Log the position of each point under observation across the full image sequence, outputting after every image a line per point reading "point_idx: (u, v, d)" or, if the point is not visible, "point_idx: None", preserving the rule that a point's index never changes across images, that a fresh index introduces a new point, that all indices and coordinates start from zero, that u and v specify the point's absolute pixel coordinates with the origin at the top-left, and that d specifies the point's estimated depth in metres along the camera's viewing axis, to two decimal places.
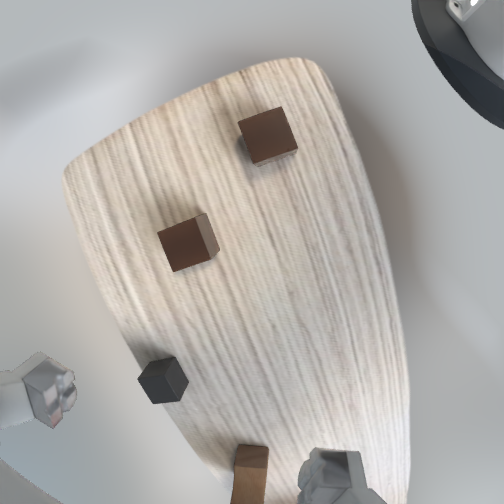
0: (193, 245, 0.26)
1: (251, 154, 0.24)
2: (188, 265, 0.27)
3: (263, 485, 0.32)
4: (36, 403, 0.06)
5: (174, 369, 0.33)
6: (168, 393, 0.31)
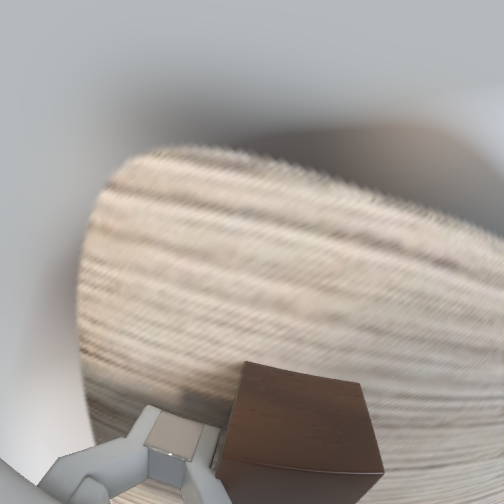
0: None
1: None
2: None
3: None
4: (160, 466, 0.06)
5: None
6: None
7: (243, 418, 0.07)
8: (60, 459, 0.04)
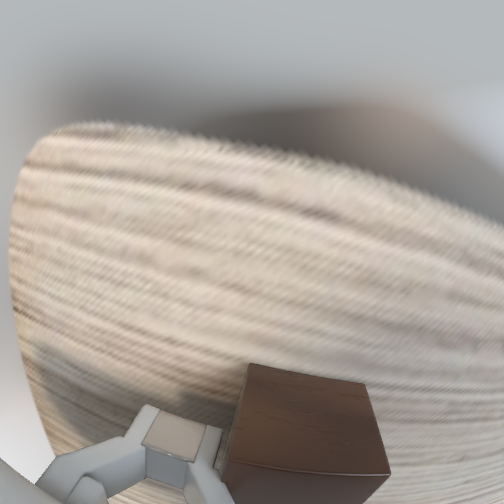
0: None
1: None
2: None
3: None
4: (158, 465, 0.06)
5: None
6: None
7: (249, 421, 0.06)
8: (59, 458, 0.04)
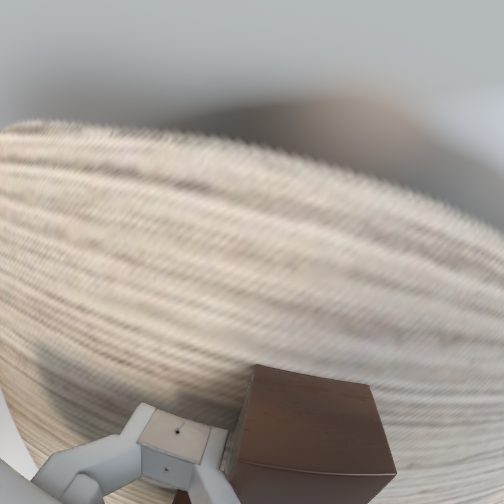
0: None
1: None
2: None
3: None
4: (153, 463, 0.06)
5: None
6: None
7: (256, 422, 0.06)
8: (54, 455, 0.04)
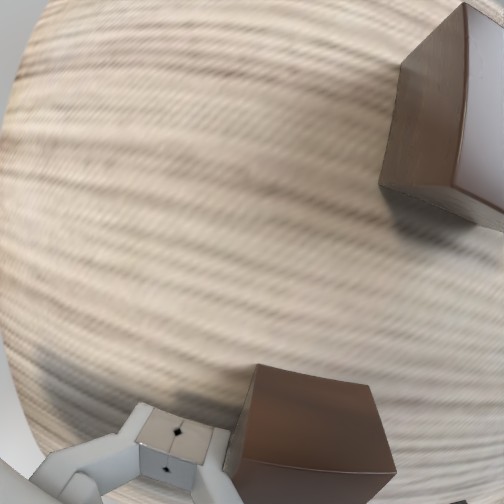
0: (320, 492, 0.05)
1: None
2: None
3: None
4: (151, 463, 0.06)
5: None
6: None
7: None
8: (52, 454, 0.04)
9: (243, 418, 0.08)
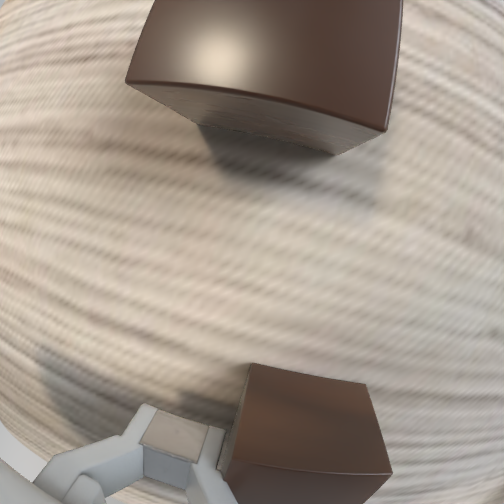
0: (314, 493, 0.05)
1: (333, 106, 0.04)
2: None
3: None
4: (155, 464, 0.06)
5: None
6: None
7: None
8: (56, 456, 0.04)
9: (237, 417, 0.08)
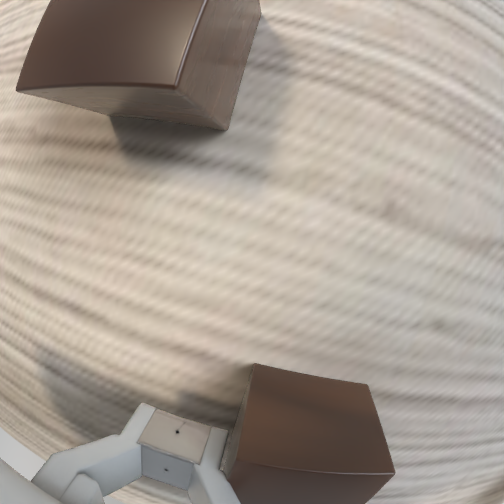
0: (317, 493, 0.05)
1: (129, 78, 0.04)
2: None
3: None
4: (153, 463, 0.06)
5: None
6: None
7: None
8: (54, 455, 0.04)
9: (240, 418, 0.08)
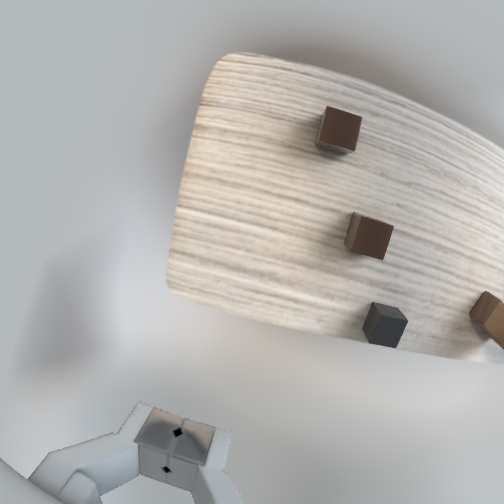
0: (377, 230, 0.30)
1: (347, 147, 0.29)
2: (386, 245, 0.31)
3: None
4: (150, 462, 0.06)
5: (381, 307, 0.35)
6: (396, 325, 0.32)
7: None
8: (52, 453, 0.04)
9: (353, 222, 0.33)
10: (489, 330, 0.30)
